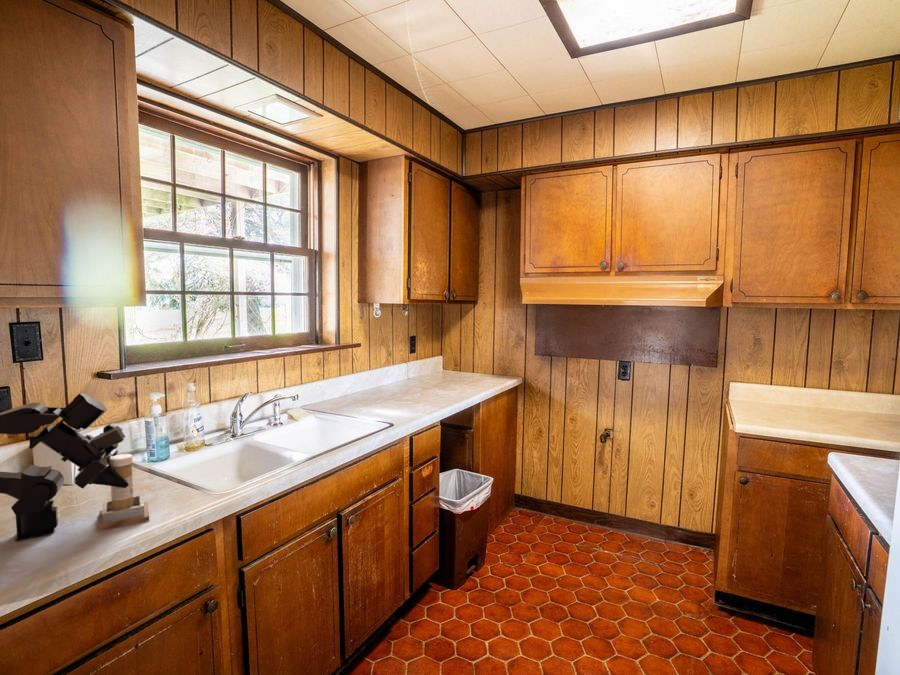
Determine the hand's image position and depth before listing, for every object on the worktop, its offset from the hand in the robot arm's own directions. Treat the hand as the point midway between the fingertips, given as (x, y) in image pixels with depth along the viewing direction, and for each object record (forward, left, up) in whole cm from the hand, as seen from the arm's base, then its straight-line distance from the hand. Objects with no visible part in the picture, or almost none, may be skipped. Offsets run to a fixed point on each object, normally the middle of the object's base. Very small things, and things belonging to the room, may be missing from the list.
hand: (128, 482), depth 116 cm
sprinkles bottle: (-1, 0, -7) cm, 7 cm away
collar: (-1, 0, -8) cm, 9 cm away
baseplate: (-1, 0, -8) cm, 9 cm away
